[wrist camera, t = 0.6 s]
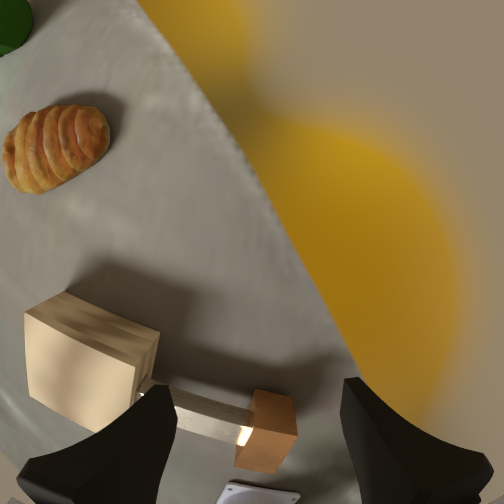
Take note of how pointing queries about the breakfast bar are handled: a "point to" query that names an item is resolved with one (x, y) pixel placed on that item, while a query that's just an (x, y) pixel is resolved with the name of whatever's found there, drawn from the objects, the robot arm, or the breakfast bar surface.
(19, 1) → the bell pepper
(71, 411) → the block
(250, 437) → the shaft
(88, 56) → the breakfast bar surface
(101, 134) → the pastry
